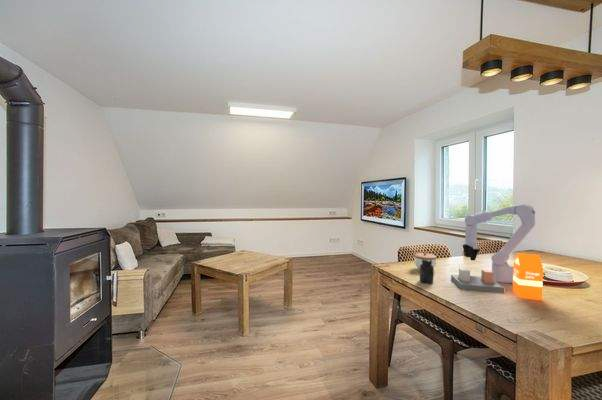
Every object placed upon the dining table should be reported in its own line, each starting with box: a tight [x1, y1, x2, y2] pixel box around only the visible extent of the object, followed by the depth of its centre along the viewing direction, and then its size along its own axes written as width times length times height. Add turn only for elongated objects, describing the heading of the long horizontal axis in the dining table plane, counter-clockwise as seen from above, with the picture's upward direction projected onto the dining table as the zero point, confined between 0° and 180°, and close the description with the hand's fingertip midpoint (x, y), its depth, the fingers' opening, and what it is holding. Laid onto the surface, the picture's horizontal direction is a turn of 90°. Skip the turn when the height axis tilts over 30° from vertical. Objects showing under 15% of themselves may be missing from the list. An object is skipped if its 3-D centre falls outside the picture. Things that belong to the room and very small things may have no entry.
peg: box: [480, 269, 494, 283], centre depth 142 cm, size 4×4×8 cm
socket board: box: [450, 267, 505, 293], centre depth 144 cm, size 19×16×8 cm
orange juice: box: [512, 252, 544, 301], centre depth 130 cm, size 8×9×20 cm
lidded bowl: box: [413, 251, 437, 271], centre depth 171 cm, size 13×13×11 cm
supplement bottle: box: [419, 259, 435, 285], centre depth 149 cm, size 7×7×12 cm
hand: (470, 258), depth 162 cm, fingers open, 7 cm apart
